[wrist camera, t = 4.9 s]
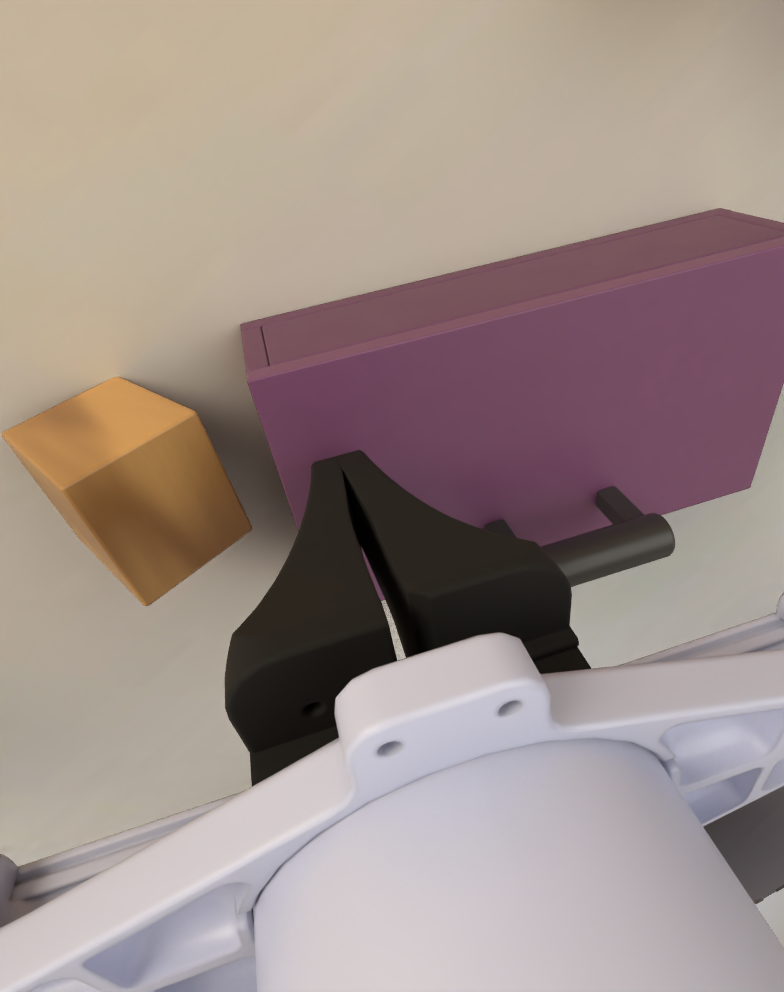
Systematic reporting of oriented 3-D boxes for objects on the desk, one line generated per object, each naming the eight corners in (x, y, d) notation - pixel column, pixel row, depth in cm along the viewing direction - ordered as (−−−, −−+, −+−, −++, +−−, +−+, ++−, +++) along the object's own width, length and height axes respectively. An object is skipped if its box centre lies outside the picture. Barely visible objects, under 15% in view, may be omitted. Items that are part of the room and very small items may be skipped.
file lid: (738, 479, 21) (819, 539, 18) (325, 605, 19) (344, 693, 16) (813, 228, 16) (946, 259, 13) (245, 371, 14) (254, 443, 11)
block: (254, 529, 16) (146, 609, 14) (175, 478, 19) (79, 539, 18) (196, 410, 14) (59, 488, 12) (116, 374, 17) (-1, 432, 15)
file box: (679, 419, 23) (743, 464, 21) (306, 526, 22) (320, 591, 19) (720, 207, 18) (812, 228, 16) (239, 323, 17) (245, 370, 14)
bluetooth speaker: (646, 804, 49) (729, 940, 41) (570, 805, 44) (647, 957, 37) (853, 626, 39) (1014, 760, 31) (782, 606, 35) (948, 754, 27)
